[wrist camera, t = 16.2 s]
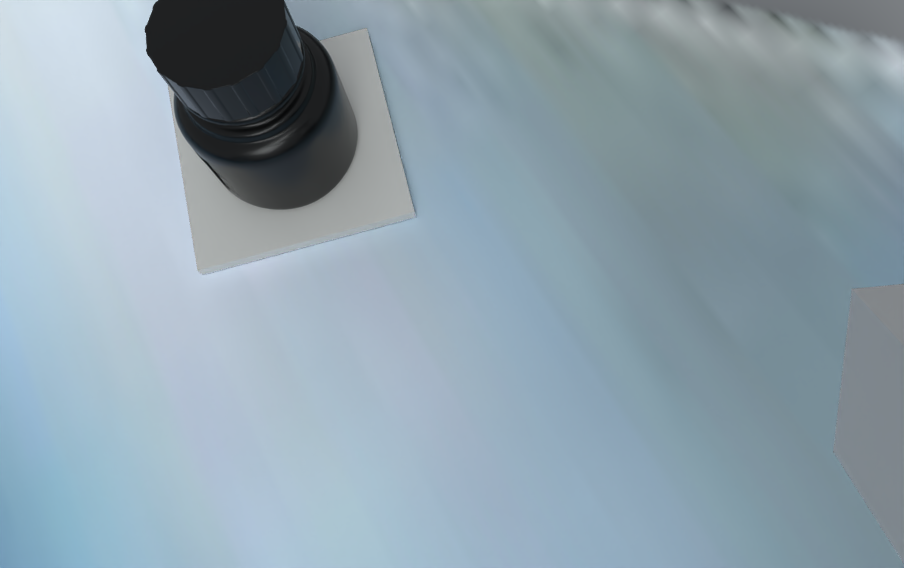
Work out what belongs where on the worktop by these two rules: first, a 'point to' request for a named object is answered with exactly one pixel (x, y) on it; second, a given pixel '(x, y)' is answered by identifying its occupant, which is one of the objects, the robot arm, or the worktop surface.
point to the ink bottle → (255, 98)
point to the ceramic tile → (333, 216)
